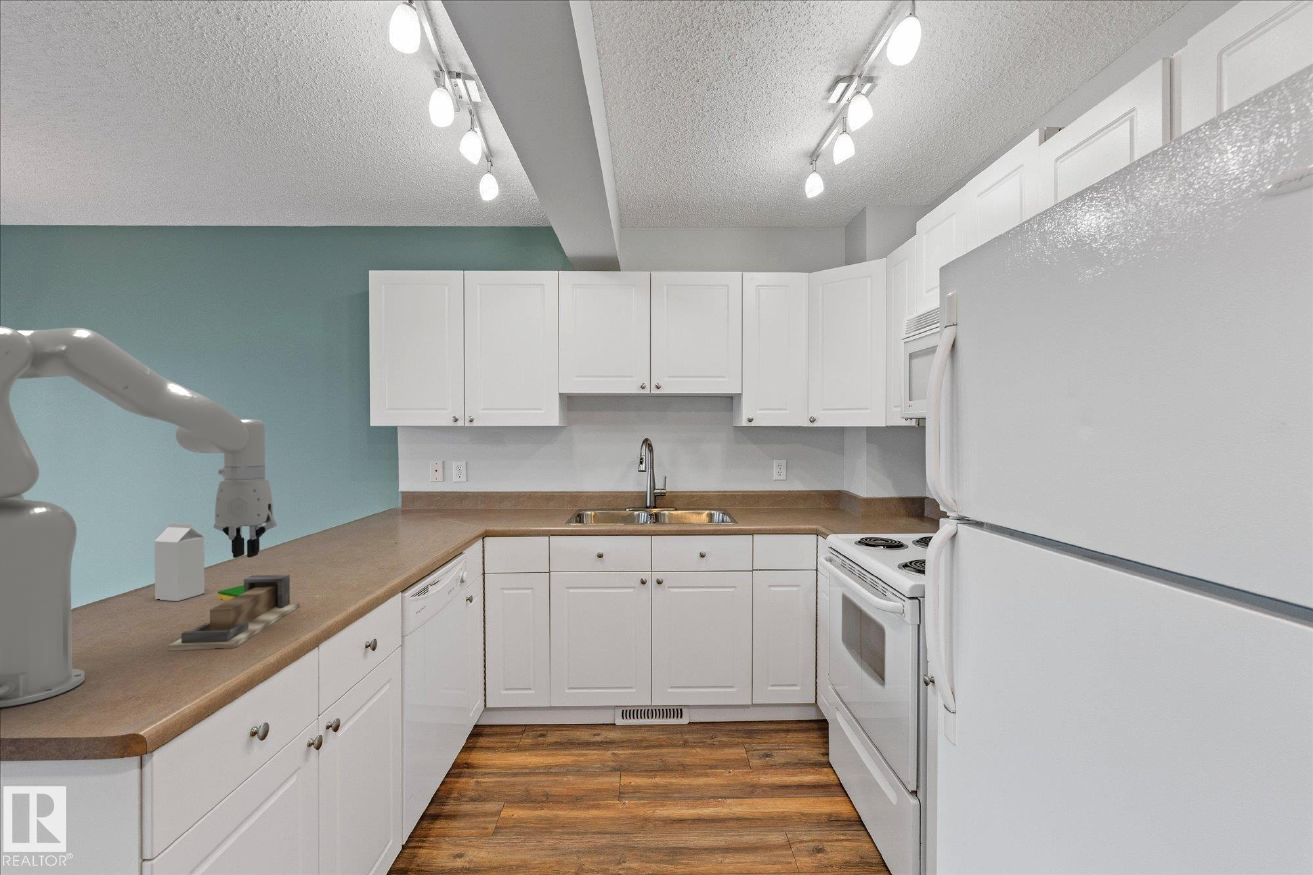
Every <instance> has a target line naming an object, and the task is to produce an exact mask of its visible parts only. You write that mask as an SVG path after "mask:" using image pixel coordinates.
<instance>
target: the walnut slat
mask: <svg viewBox="0 0 1313 875" xmlns="http://www.w3.org/2000/svg"><path fill="white" fill-rule="evenodd" d="M274 607H276V586H257V587H255V588H253V589H251V590H249V591H247V592H245V593H243V594H241V595H239V596H237V597H235V598H233V599H231V600H228V601H224V602H223V603H221V604H218V605H216V606H214V607H212V608H210V609H209V623H210V631H215V630H230V629H232V628H234V627H235V626H237V625H239V624H241V623H242V622H250V621H252V620H254V619H255V618H257V617H259V616H260V615H262V614H264V613H266V612H267V611H269V610H271V609H272V608H274Z"/></svg>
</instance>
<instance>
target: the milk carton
mask: <svg viewBox="0 0 1313 875" xmlns="http://www.w3.org/2000/svg"><path fill="white" fill-rule="evenodd" d="M205 592H206V591H205V537H204V536H203V535H202V534H201V533H200V532H198V531H196V529H194V528H193V527H192V524H191V523H181V522H178V523H177V522H168V524H167V528H166V529H164V530H163V532H162V533H161V534H160V535H159V536H158V537H157V538H156V539H155V540H154V600H157V599H160V600H159V601H172V602H179V601H183V600H186V599H190V598H193V597H196V596H201V595H204V594H205ZM203 593H204V594H203Z"/></svg>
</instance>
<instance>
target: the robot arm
mask: <svg viewBox="0 0 1313 875" xmlns="http://www.w3.org/2000/svg"><path fill="white" fill-rule="evenodd" d="M55 377H70V378H72V379H73V380H75V381H77V383H80V384H81V385H83V386H85V387H87V388H89V389H90V390H91V391H94V392H95V393H96V394H98V395H100V396H101V397H103V398H104V399H106V400H108V401H109V402H111V403H113V404H114V405H116V406H118V407H120V408H121V409H123V410H124V411H127V412H130V413H133V414H135V415H138V416H141V417H145V418H150V419H154V420H159V421H162V422H166V423H169V424H172V425H175V426H177V429H176V431H175V439H176V441H177V443H178V445H179V446H180V447H182V448H183V449H184V450H187V451H189V452H192V453H198V454H223V458H224V459H223V468H220V469H218V472H217V473H218V475H219V476H222V478H223V480H220V481H219V484H218V488H217V493H216V498H215V508H214V525H213V528H214V529H215V530H218V531H220V532H223V533H224V534H225V535H226V536H227V537H228V539H229V540H230V541H231V553H232V557H233V558H234V559H237V558H240V557H242V556H244V555H245V538H244V536H242V535H243V534H242V533H243V532H242V531H243V528H242V527H249V529H248V530H249V532H248V533H249V539H247V540H246V557H247V558H248V559H249V558H253V557H256V556H258V554H259V552H260V538H262V536H263V535H264V534H265V533H266V532H267V531H269V530H272V529H273V528H276V527H277V525H278V524H277V522H276V520H275V518H274V503H273V495H272V489H271V484H270V481H269V479H266V425H265V422H263V420H260V419H255V418H239V417H238V416H236V415H235V414H234V413H232V412H231V411H229V410H228V409H226V408H225V407H224V406H222V405H221V404H220V403H217V402H216V401H215V400H212V398H209V397H207V396H205V395H203V394H201V393H198V392H196V391H194V390H192V389H190V388H187V387H186V386H183V385H181V384H179V383H177V382H175V381H172V380H170V379H168V378H166V377H164V376H162V375H160V374H159V373H158V372H156V371H154V370H153V369H151V368H150V367H149V366H146V365H145V364H144V363H142V362H141V361H140V360H139V359H136V357H134V356H133V355H131V354H129V353H128V352H127V351H125V350H124V349H122V348H121V347H119V346H118V345H117V344H115V343H114V342H112V341H111V340H109V339H108V338H106V337H104V336H103V335H102V334H100V333H98V332H96V331H94V330H92V329H88V328H84V327H63V328H62V327H61V328H51V329H31V330H27V329H26V330H21V329H20V330H17V329H14V328H10V327H7V326H1V325H0V708H6V707H8V708H9V707H14V706H18V705H19V706H20V705H25V704H29V703H33V702H34V703H35V702H38V701H42V700H45V699H48V698H52V697H55V696H57V695H58V696H59V695H61V694H63V693H65V692H68V691H70V690H72V689H74V688H76V687H77V686H79V685H81V684H82V683H83V682H84V681H85V676H86V674H85V671H84V670H83V669H78V668H73V651H72V650H73V646H72V645H73V642H72V641H73V640H72V639H73V638H72V637H73V636H72V589H71V588H72V587H71V586H72V585H71V584H72V581H71V579H72V578H71V576H72V575H71V574H72V561H73V554H74V550H75V546H76V542H77V535H78V534H77V531H78V530H77V529H78V528H77V524H76V521H75V519H74V517H73V516H72V514H71V513H70V512H69V511H68V510H66V509H65V508H63V507H62V506H59V505H57V504H54V503H52V502H47V501H42V500H31V499H25V498H24V496H23V494H25V493H27V492H29V491H30V490H31V489H32V488H33V487H35V485H36V483H37V482H38V480H39V477H40V469H39V468H40V467H39V465H38V462H37V460H36V458H35V456H34V454H33V452H32V450H31V448H30V447H29V444H28V443H27V441H26V440H27V439H26V438H25V437H24V435H23V432H22V431H21V429H20V427H19V424H18V423H17V420H16V418H15V416H14V412H13V411H12V407H11V404H10V394H11V390H12V388H13V386H14V384H15V382H16V381H17V380H27V379H43V378H55ZM263 524H265V525H263ZM233 558H232V559H233Z"/></svg>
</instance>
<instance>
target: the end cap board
mask: <svg viewBox="0 0 1313 875" xmlns="http://www.w3.org/2000/svg"><path fill="white" fill-rule="evenodd" d="M290 578H291V576H290V574H266V575H265V574H264V575H263V574H262V575H261V574H260V575H259V574H257V575H251V576H248V577H247V578H244V579H243V585H244V593H245V592H247V591H249V590H251V589H253V588H255V587H257V586H276V607H274V608H272V609H271V610H269V611H267V612H266V613H264V614H262V615H260V616H259V617H257V618H255V619H254V620H252V621H250V622H242V623H241V624H239V625H237V626H235V627H234V628H232V629H230V630H215V631H210V622H206V623H203V624H201V625H199V626H197V627H196V628H194V629H191V630H190V631H189V630H188V631H186V630H185V631H183V632H181V634H180V636H181V637H180V639H178V640H175V641H174V642H172V643H170V644H168V645H167V651H170V652H171V651H191V650H192V651H194V650H196V651H197V650H216V649H215V648H224V649H235V648H237V647H238V646H239V645H241V644H243V643H245V642H246V641H247V640H249V639H251V638H252V637H254V636H256V635H257V634H258V633H260V632H262V631H263V630H265V629H267V628H268V627H270V626H271V625H273V624H274V623H276V622H278V621H279V620H281V619H282V618H284V617H285V616H287V615H289V614H290V613H292V612H293V611H294V610H296V609H298V608H299V607H301V606H300V605H301V604H300V602H299V601H298V602H295V601H294V602H291V601H290V597H291V594H290V593H291V591H290V590H291V589H290V588H291V587H290V586H291V584H290V582H291V581H290V580H291V579H290ZM236 646H237V647H236Z"/></svg>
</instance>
